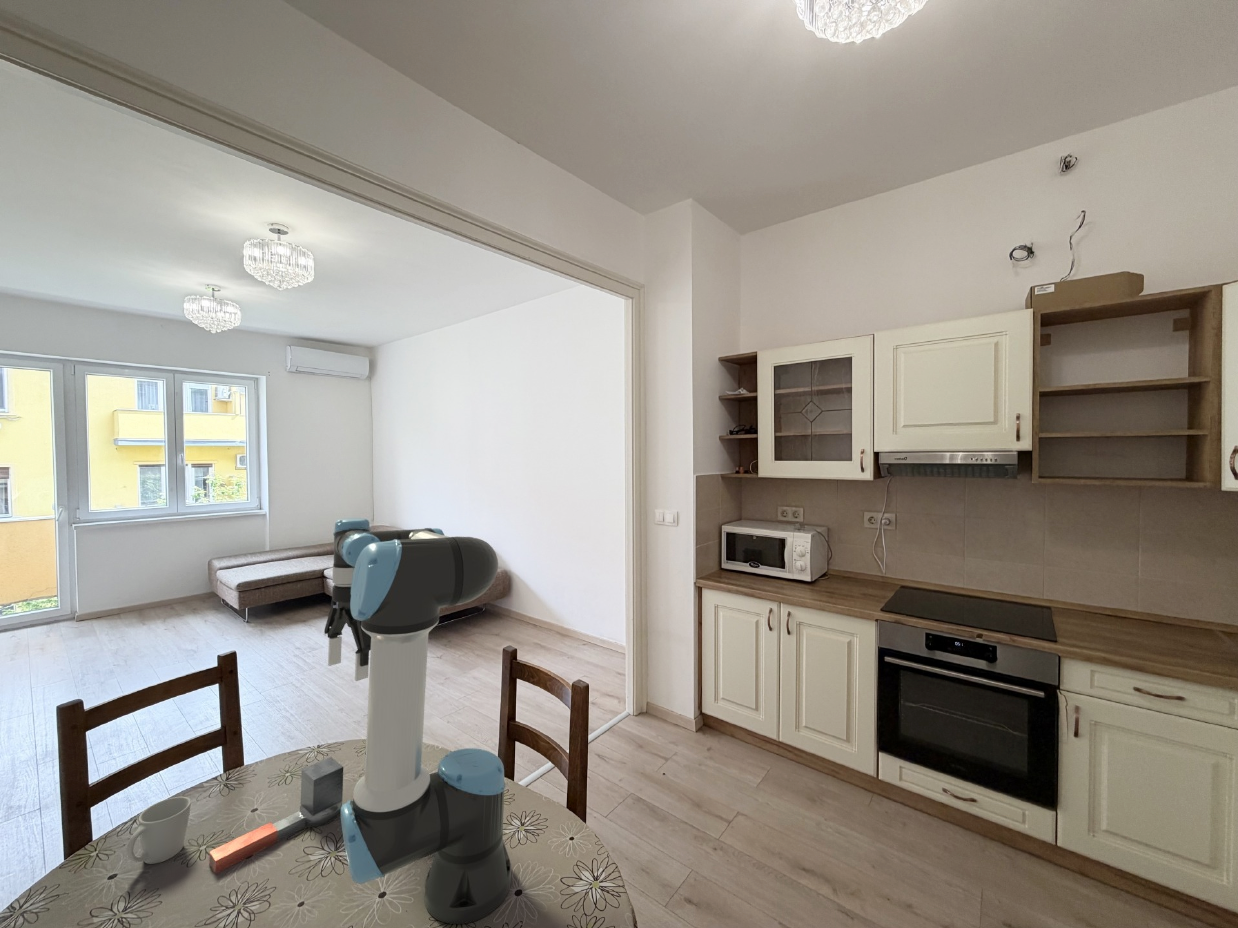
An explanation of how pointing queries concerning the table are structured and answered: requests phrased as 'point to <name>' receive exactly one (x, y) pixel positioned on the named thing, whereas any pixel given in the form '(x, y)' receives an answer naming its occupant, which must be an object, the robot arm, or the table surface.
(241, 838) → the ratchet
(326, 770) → the grey rectangular block
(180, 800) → the cup
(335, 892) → the table surface
